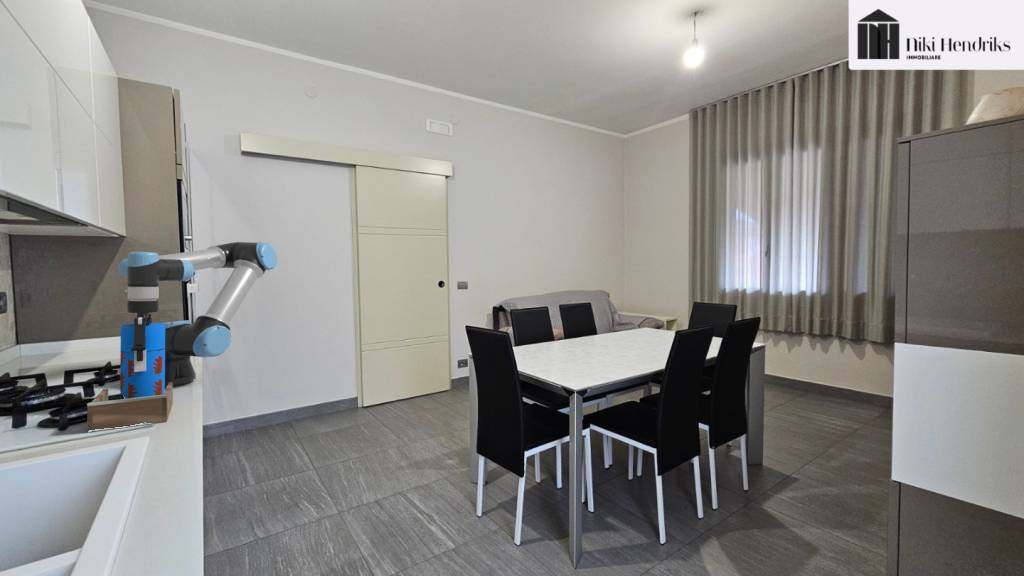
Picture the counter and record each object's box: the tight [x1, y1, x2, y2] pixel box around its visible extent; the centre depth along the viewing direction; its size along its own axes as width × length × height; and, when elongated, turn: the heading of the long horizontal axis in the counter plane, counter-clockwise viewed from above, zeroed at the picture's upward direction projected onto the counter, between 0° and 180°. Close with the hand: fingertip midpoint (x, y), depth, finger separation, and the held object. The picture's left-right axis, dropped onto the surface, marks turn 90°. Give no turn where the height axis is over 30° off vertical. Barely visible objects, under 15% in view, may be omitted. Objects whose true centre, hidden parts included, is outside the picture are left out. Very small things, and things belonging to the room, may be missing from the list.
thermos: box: [119, 322, 166, 399], centre depth 135 cm, size 11×11×25 cm
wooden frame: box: [86, 382, 174, 432], centre depth 121 cm, size 19×16×8 cm
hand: (143, 367), depth 135 cm, fingers open, 11 cm apart
